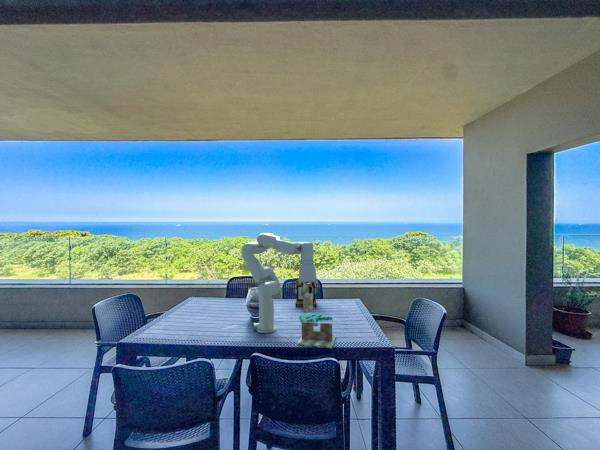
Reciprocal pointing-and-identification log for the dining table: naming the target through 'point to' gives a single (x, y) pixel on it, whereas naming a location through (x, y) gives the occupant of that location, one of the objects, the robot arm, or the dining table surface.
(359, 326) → the dining table surface
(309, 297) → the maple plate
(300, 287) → the decorative lantern
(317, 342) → the cross base
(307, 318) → the alien figure
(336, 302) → the dining table surface
